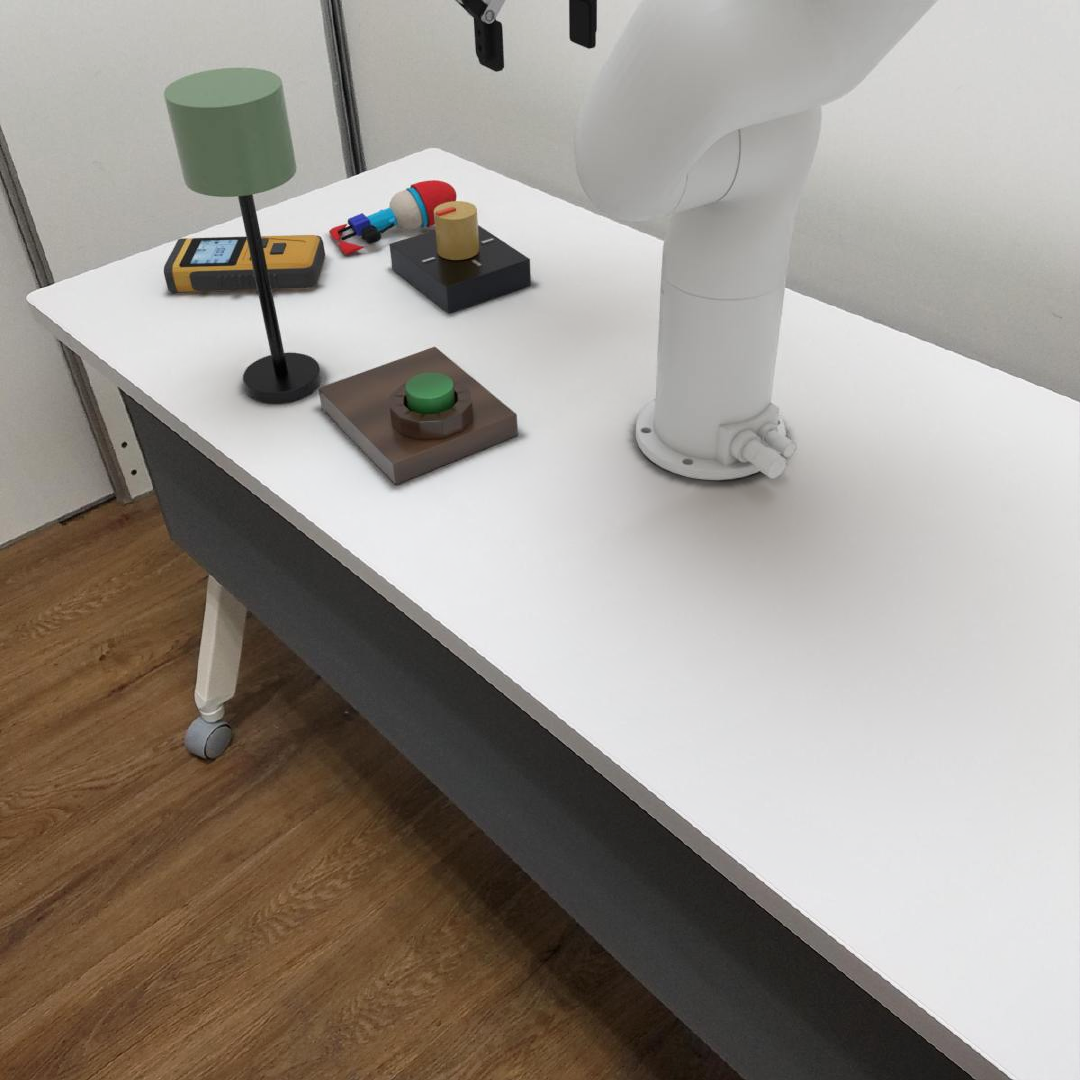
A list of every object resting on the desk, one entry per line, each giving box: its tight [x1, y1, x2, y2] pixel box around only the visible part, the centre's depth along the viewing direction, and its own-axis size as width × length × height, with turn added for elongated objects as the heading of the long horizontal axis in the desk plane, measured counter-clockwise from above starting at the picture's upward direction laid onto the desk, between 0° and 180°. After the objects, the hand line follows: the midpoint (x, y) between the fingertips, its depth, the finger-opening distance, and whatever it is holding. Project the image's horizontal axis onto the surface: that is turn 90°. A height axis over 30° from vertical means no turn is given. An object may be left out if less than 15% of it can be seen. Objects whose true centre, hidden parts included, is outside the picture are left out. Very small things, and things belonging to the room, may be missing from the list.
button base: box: [317, 346, 519, 485], centre depth 99 cm, size 14×12×4 cm
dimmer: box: [434, 200, 479, 260], centre depth 117 cm, size 4×4×5 cm
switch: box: [405, 373, 455, 414], centre depth 95 cm, size 4×4×2 cm
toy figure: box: [328, 179, 458, 256], centre depth 128 cm, size 8×5×15 cm
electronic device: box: [163, 234, 326, 293], centre depth 121 cm, size 8×16×3 cm, turn 90°
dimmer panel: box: [388, 224, 532, 314], centre depth 119 cm, size 12×10×3 cm
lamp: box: [163, 67, 322, 405], centre depth 97 cm, size 9×9×27 cm
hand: (537, 55), depth 100 cm, fingers open, 9 cm apart
